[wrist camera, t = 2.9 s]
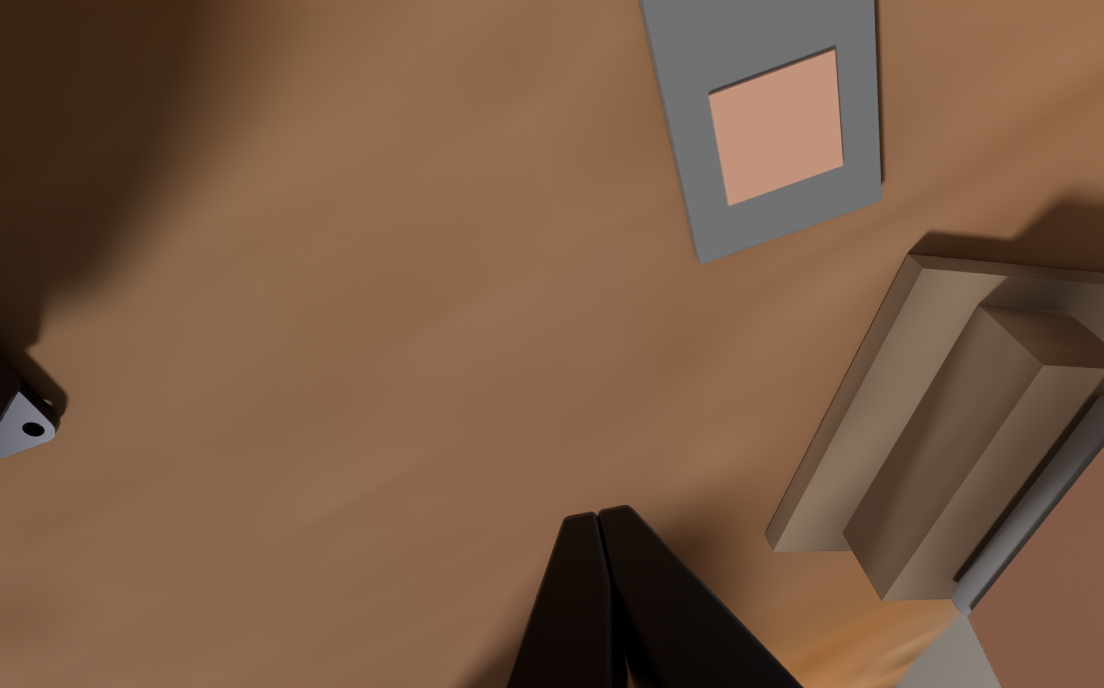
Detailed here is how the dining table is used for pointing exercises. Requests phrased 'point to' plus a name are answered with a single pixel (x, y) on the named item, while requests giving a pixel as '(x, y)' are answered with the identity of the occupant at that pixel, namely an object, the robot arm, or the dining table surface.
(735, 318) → the dining table surface
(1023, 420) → the plinth
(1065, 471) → the number flap
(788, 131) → the plate
